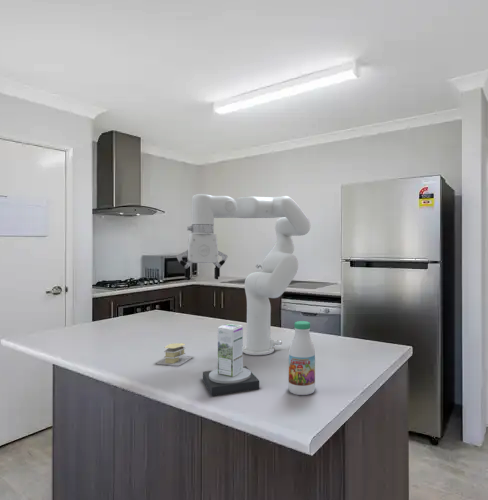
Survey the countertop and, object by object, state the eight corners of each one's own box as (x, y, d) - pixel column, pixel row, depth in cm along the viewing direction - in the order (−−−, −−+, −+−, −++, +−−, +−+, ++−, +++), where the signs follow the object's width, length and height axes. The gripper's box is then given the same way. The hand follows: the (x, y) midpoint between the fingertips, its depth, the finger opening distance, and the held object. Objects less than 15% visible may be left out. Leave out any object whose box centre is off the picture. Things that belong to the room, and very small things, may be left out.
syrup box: (243, 371, 113) (243, 324, 113) (232, 377, 108) (232, 328, 108) (228, 368, 116) (228, 322, 115) (216, 374, 110) (217, 326, 110)
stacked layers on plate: (179, 365, 128) (179, 350, 128) (155, 364, 130) (156, 348, 130) (192, 357, 138) (192, 342, 138) (170, 355, 140) (171, 341, 139)
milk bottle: (287, 385, 111) (288, 319, 110) (313, 385, 111) (313, 319, 111) (289, 396, 103) (290, 325, 103) (316, 395, 104) (317, 325, 103)
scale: (246, 373, 121) (247, 363, 121) (260, 388, 108) (260, 377, 108) (202, 379, 115) (202, 369, 115) (211, 396, 102) (211, 384, 102)
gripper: (178, 229, 120) (177, 281, 121) (229, 230, 127) (229, 279, 128) (175, 230, 127) (175, 279, 127) (224, 231, 134) (224, 277, 134)
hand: (202, 279), depth 128 cm, fingers open, 9 cm apart
